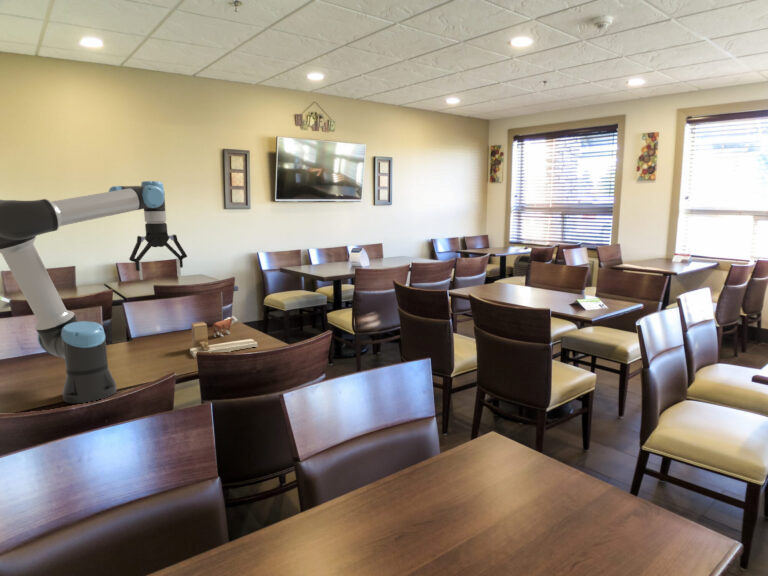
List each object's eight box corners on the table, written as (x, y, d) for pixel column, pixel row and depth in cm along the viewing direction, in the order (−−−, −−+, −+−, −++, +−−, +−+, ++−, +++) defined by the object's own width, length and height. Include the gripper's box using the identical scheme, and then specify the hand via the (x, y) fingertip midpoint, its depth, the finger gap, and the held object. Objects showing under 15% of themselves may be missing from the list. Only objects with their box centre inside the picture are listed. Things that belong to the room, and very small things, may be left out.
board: (257, 347, 212) (257, 342, 212) (194, 358, 198) (194, 353, 198) (251, 342, 219) (251, 338, 218) (190, 353, 205) (189, 348, 204)
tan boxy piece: (213, 354, 203) (211, 328, 201) (201, 356, 200) (199, 330, 198) (205, 346, 214) (203, 321, 212) (193, 348, 212) (191, 323, 210)
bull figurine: (239, 332, 237) (238, 315, 235) (216, 338, 225) (215, 321, 224) (233, 331, 239) (232, 314, 237) (210, 337, 228) (209, 320, 226)
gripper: (188, 221, 198) (192, 273, 202) (118, 223, 185) (123, 279, 189) (192, 222, 192) (196, 275, 196) (120, 224, 179) (125, 282, 183)
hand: (160, 277), depth 192 cm, fingers open, 13 cm apart
